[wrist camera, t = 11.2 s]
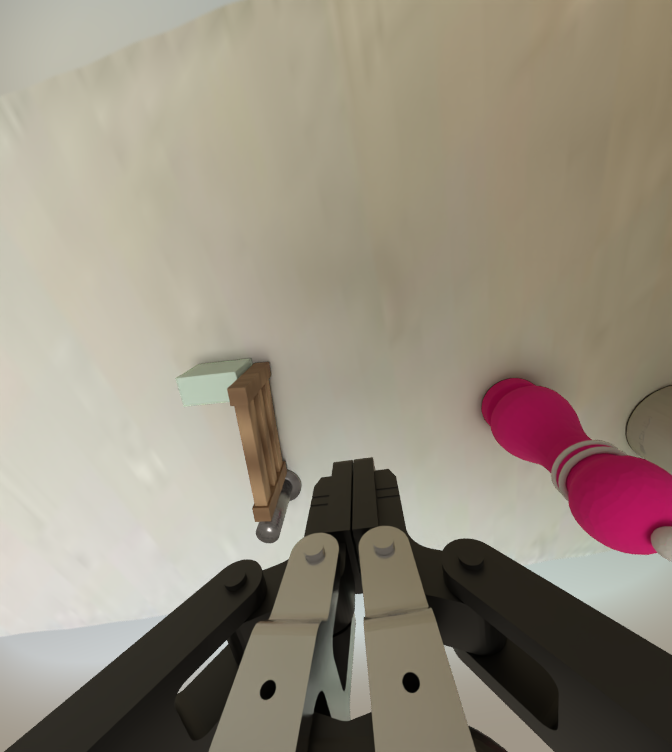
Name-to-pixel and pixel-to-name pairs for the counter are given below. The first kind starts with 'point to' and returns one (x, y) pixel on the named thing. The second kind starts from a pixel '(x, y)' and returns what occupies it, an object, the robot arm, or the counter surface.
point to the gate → (259, 438)
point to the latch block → (210, 381)
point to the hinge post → (279, 509)
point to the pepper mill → (584, 468)
